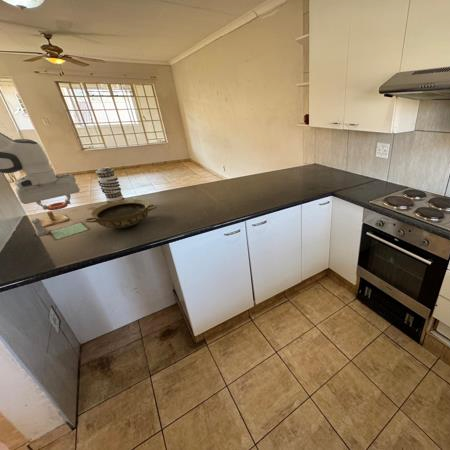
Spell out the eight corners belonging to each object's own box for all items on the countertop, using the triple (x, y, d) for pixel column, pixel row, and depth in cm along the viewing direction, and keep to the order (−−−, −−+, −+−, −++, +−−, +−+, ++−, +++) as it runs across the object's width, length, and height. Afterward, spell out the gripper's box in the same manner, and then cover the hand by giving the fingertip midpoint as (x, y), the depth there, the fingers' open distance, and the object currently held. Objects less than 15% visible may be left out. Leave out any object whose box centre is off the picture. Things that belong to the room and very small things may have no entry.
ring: (50, 211, 111) (48, 208, 110) (46, 208, 115) (45, 205, 114) (69, 206, 116) (68, 204, 115) (65, 203, 119) (64, 200, 119)
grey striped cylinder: (129, 206, 149) (115, 165, 137) (127, 211, 142) (112, 168, 130) (111, 208, 145) (95, 166, 134) (108, 214, 138) (91, 170, 126)
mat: (57, 240, 114) (56, 239, 113) (50, 232, 120) (50, 231, 120) (88, 230, 122) (88, 229, 122) (81, 223, 129) (80, 222, 128)
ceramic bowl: (91, 244, 110) (81, 225, 105) (91, 225, 127) (83, 207, 122) (164, 225, 126) (159, 208, 121) (155, 210, 143) (151, 194, 138)
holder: (43, 228, 124) (38, 217, 122) (39, 222, 130) (34, 212, 127) (68, 221, 131) (64, 211, 129) (63, 216, 137) (59, 206, 134)
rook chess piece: (46, 231, 121) (38, 216, 118) (51, 233, 120) (43, 218, 116) (35, 235, 118) (26, 220, 114) (39, 237, 116) (30, 222, 112)
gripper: (70, 171, 118) (82, 198, 124) (9, 182, 103) (26, 212, 110) (74, 173, 114) (86, 201, 121) (11, 185, 100) (29, 215, 106)
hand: (57, 206), depth 115 cm, fingers closed on ring, 7 cm apart
